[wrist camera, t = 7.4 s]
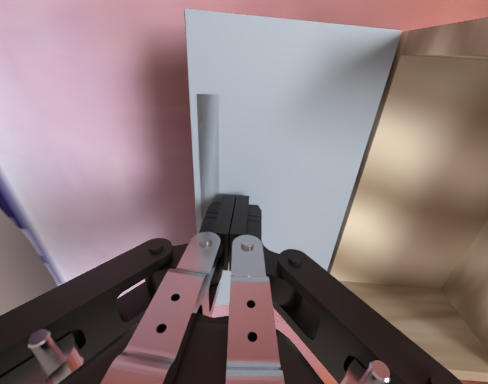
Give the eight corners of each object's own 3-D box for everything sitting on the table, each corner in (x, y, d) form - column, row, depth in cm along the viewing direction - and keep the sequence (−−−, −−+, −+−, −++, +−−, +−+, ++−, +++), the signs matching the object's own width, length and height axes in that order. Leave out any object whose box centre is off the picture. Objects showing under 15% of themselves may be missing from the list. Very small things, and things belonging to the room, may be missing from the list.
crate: (398, 32, 12) (533, 9, 6) (603, 44, 12) (957, 31, 6) (322, 278, 21) (347, 368, 15) (439, 288, 21) (513, 384, 15)
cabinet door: (384, 32, 12) (184, 13, 10) (402, 30, 11) (184, 8, 9) (315, 276, 21) (199, 295, 19) (321, 287, 20) (201, 309, 18)
